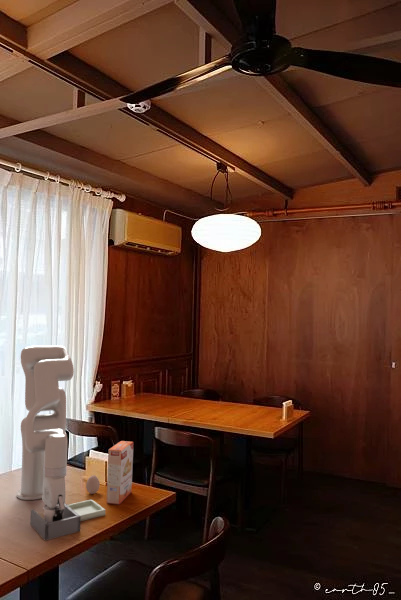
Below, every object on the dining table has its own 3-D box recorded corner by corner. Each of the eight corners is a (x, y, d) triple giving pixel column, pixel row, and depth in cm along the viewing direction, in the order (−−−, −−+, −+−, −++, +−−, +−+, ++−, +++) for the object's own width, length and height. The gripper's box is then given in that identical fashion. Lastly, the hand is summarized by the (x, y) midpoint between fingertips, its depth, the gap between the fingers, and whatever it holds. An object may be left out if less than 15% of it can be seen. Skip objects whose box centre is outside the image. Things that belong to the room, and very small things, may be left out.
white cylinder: (38, 528, 167) (39, 507, 167) (51, 520, 173) (52, 500, 173) (55, 532, 164) (56, 511, 164) (68, 524, 171) (68, 503, 171)
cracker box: (120, 505, 188) (122, 450, 189) (105, 503, 189) (107, 449, 190) (132, 492, 202) (134, 441, 202) (118, 490, 203) (120, 440, 204)
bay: (30, 524, 170) (30, 509, 170) (63, 516, 177) (64, 502, 177) (45, 540, 158) (45, 524, 158) (80, 531, 165) (80, 516, 166)
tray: (62, 511, 181) (62, 506, 181) (91, 504, 188) (91, 499, 188) (74, 522, 172) (75, 516, 172) (105, 515, 179) (105, 509, 179)
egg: (84, 495, 197) (84, 477, 197) (87, 491, 202) (88, 473, 202) (97, 496, 197) (98, 477, 197) (100, 491, 202) (101, 473, 202)
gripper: (35, 466, 174) (34, 517, 173) (53, 480, 160) (52, 536, 159) (56, 462, 178) (54, 512, 178) (75, 475, 164) (74, 530, 164)
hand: (53, 523), depth 169 cm, fingers closed on white cylinder, 6 cm apart
